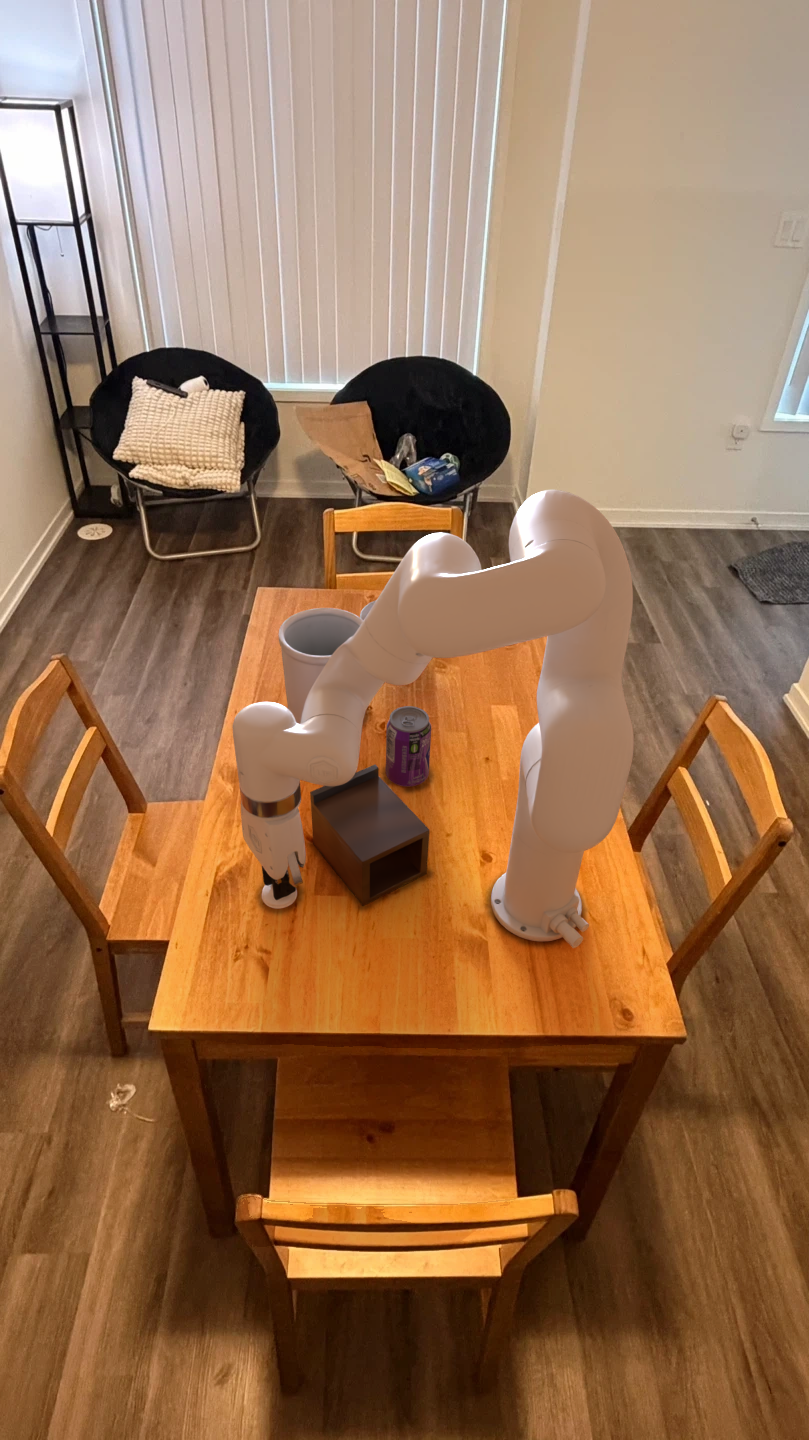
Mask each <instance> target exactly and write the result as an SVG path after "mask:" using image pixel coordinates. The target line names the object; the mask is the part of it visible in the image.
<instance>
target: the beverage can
mask: <svg viewBox="0 0 809 1440" xmlns="http://www.w3.org/2000/svg"><path fill="white" fill-rule="evenodd" d="M385 728H386V730H385V731H386V732H385V733H386V734H385V735H386V736H385V776H386V777H387V779H388V780H389V781H390V782H391V783H393V784H395V785H397V786H400V787H415V786H419V785H421V784H422V783H424V782H425V781H426V780H427V779H428V778H429V775H430V765H431V763H430V761H431V746H432V745H431V744H432V724H431V722H430V716H429V714H428V712H427V711H425V710H424V709H422V708H420V707H417V706H413V705H403V706H400V707H397V708H395V709H394V710H392V711H391V712H390V714H389V719H388V721H387V723H386V727H385Z"/></svg>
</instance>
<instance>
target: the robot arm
mask: <svg viewBox="0 0 809 1440" xmlns="http://www.w3.org/2000/svg"><path fill="white" fill-rule="evenodd" d="M508 552H509V553H508V554H509V562H508V563H504V564H500V565H497V566H493V567H490V568H486V569H482V564H481V562H480V559H479V557H478V555H477V553H476V552H475V550H474V549H473V547H472V545H470V544H469V543H468V542H467V541H466V540H464V539H463V538H461V537H459V536H457V535H455V534H452V533H448V532H434V533H431V534H428V535H425V536H423V537H422V538H420V539H418V540H417V541H416V542H415V543H414V544H413V545H412V546H411V547H410V548H409V549H408V551H407V552H406V553H405V555H404V556H403V558H402V560H401V561H400V562H399V564H398V565H397V567H396V569H394V572H393V574H392V575H391V577H390V578H389V579H388V581H387V582H386V585H385V586H384V588H383V589H382V591H381V592H380V594H379V595H378V597H377V599H375V600H376V602H375V603H374V605H373V607H372V608H371V610H370V611H369V613H368V614H367V616H366V618H365V619H364V621H363V622H362V624H361V625H360V627H359V628H358V630H357V631H356V633H355V634H354V636H352V637H350V638H349V639H348V640H347V641H346V642H344V643H343V644H342V645H341V646H339V647H338V648H337V650H336V651H335V652H334V653H333V655H332V656H331V657H330V659H329V660H328V662H327V664H326V665H325V667H324V668H323V670H322V672H321V673H320V675H319V676H318V678H317V680H316V681H315V683H314V685H313V686H312V688H311V690H310V692H309V694H308V696H307V699H306V701H305V705H304V709H303V713H302V718H301V723H300V724H298V723H296V720H295V718H294V715H293V714H292V712H291V711H290V710H289V709H288V707H287V706H284V705H283V704H281V703H278V702H274V701H273V702H272V701H258V702H254V703H251V704H249V705H246V706H244V707H243V708H241V710H240V711H239V712H238V713H237V714H236V715H235V716H234V720H233V722H232V738H233V747H234V755H235V763H236V771H237V776H238V784H239V785H238V786H239V793H240V816H241V817H240V818H241V819H240V820H241V831H242V837H243V840H244V842H245V844H246V845H247V847H248V848H249V850H250V851H251V853H252V854H253V855H254V857H255V858H256V860H257V861H258V862H259V864H260V865H261V873H262V882H263V884H264V886H265V885H266V886H269V885H271V884H272V886H273V896H274V898H275V900H279V899H281V898H283V897H286V896H288V895H290V894H291V893H293V892H295V891H296V890H297V887H298V886H300V885H303V884H304V880H303V877H302V873H301V870H300V868H301V869H302V868H304V867H305V865H306V860H307V856H306V854H307V853H306V842H305V835H304V829H303V824H302V818H301V815H300V814H301V813H300V810H299V807H300V806H301V803H302V789H301V781H303V782H306V783H310V784H313V785H317V786H322V787H323V786H339V785H342V784H345V783H347V782H348V781H349V780H351V779H352V777H353V776H354V775H355V773H356V772H358V771H357V770H358V767H359V762H360V753H361V752H360V751H361V741H362V740H361V739H362V734H363V733H362V732H363V724H364V719H363V718H365V716H364V713H365V714H366V711H367V709H368V707H369V706H370V704H371V703H372V702H373V700H374V698H375V697H376V695H377V694H378V693H379V691H380V690H381V688H382V687H383V686H384V684H385V683H386V684H389V685H392V686H407V685H411V684H412V683H414V682H416V681H417V680H418V679H419V677H420V676H421V675H422V674H423V673H424V671H425V669H426V668H427V666H428V665H429V664H430V662H431V661H432V659H433V658H436V659H452V658H453V659H454V658H459V657H466V656H472V655H475V654H476V655H477V654H480V653H486V652H489V651H493V650H497V649H501V648H506V647H509V646H512V645H517V644H521V643H526V642H530V641H533V640H538V639H541V638H545V637H546V643H545V649H544V654H543V660H542V666H541V671H540V675H539V679H538V684H537V689H536V708H537V709H536V710H537V716H538V722H537V723H536V724H535V725H534V726H533V727H532V728H531V729H530V731H529V732H528V734H527V735H526V737H525V739H524V741H523V744H522V747H521V751H520V760H519V772H518V773H519V774H518V791H517V799H516V806H515V807H516V808H515V813H514V820H513V827H512V832H511V839H510V846H509V853H508V859H507V866H506V871H505V872H504V873H503V874H502V875H501V876H500V877H499V878H497V880H496V881H495V883H494V885H493V886H492V887H493V888H492V891H491V897H490V905H491V909H492V912H493V914H494V917H495V919H496V920H497V921H498V922H499V923H500V925H501V926H502V927H503V928H505V929H506V930H507V931H508V932H510V933H512V934H513V935H515V936H517V937H519V938H522V939H525V940H528V941H534V942H551V941H555V940H559V939H562V938H563V940H564V941H565V942H566V943H567V944H568V945H569V946H570V947H571V948H572V949H575V948H578V947H579V946H580V945H581V944H582V942H583V940H584V937H583V936H582V935H581V933H579V932H578V931H577V930H576V929H575V928H577V929H578V930H580V931H581V932H582V933H584V932H585V931H587V930H588V928H589V927H590V924H589V923H588V921H587V920H585V918H583V917H582V912H583V902H582V901H583V900H582V898H581V896H580V893H579V891H578V890H577V883H578V879H579V875H580V870H581V867H582V862H583V857H584V853H585V852H586V851H589V850H591V849H593V848H594V847H596V846H597V845H599V844H600V843H601V842H603V841H604V840H605V839H606V838H607V837H608V835H609V834H610V832H611V831H612V830H613V828H614V825H615V824H616V822H617V819H618V816H619V814H620V813H619V812H620V809H621V805H622V801H623V798H624V795H625V791H626V787H627V783H628V780H629V776H630V771H631V768H632V763H633V759H634V753H635V752H634V748H635V736H634V735H635V734H634V727H633V723H632V720H631V715H630V712H629V707H628V704H627V701H626V696H625V692H624V688H623V680H622V679H623V677H622V676H623V668H624V662H625V658H626V653H627V648H628V642H629V634H630V629H631V623H632V617H633V606H634V589H633V579H632V573H631V568H630V564H629V561H628V557H627V553H626V551H625V548H624V546H623V542H622V541H621V538H620V537H619V535H618V533H617V531H616V530H615V528H614V527H613V525H612V524H611V523H610V521H609V519H608V518H607V517H606V516H605V515H604V514H603V513H602V512H601V511H600V510H599V509H597V508H596V507H595V506H594V505H593V504H592V503H590V502H589V501H587V500H585V499H584V498H583V497H581V496H579V495H577V494H574V493H572V492H569V491H566V490H560V489H545V490H542V491H539V492H537V493H535V494H534V493H533V494H532V495H531V496H529V497H528V498H527V499H525V501H524V502H523V503H522V504H521V506H519V508H518V510H517V511H516V514H515V515H514V517H513V520H512V523H511V526H510V528H509V537H508Z"/></svg>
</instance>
